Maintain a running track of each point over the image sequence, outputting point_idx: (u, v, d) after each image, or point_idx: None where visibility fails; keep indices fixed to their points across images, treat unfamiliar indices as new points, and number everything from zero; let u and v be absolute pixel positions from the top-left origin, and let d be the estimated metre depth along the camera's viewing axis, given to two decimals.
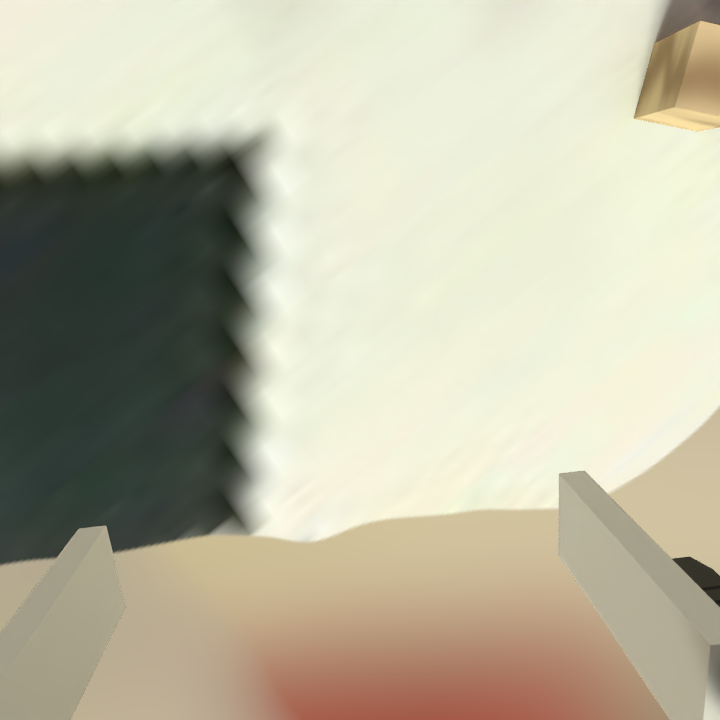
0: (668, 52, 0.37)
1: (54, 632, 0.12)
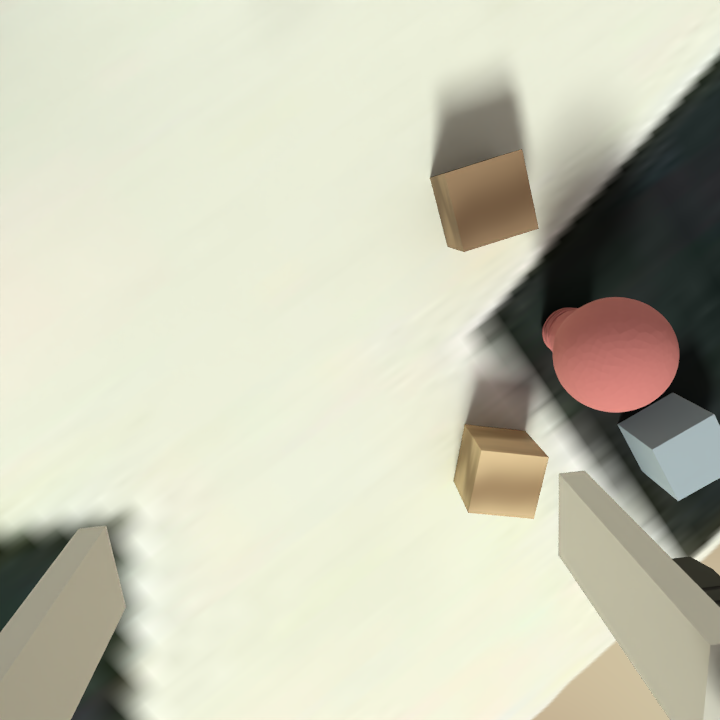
0: (469, 449, 0.43)
1: (55, 631, 0.12)
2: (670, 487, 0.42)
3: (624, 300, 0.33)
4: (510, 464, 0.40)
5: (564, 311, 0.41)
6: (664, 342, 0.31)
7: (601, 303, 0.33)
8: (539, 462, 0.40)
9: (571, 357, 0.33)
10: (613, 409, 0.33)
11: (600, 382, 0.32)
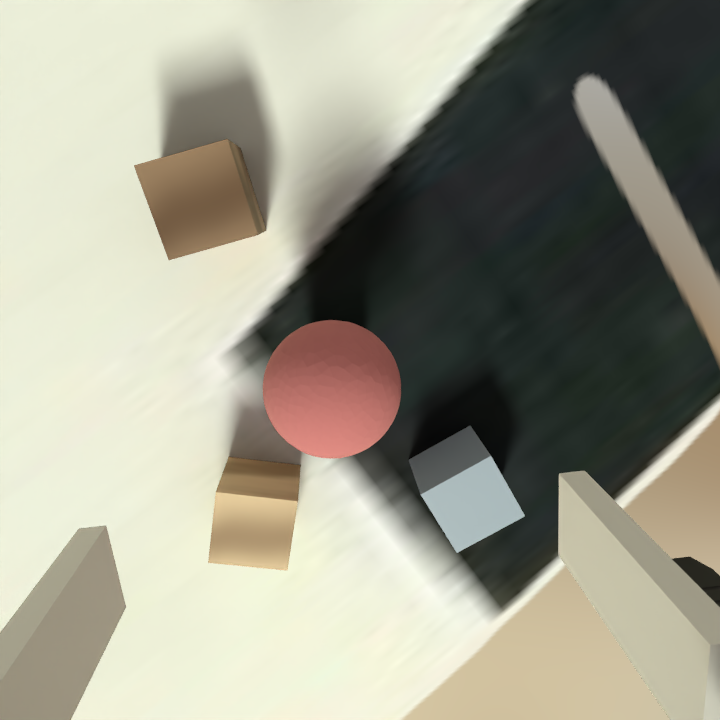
0: None
1: (55, 632, 0.12)
2: None
3: (332, 325, 0.27)
4: (253, 508, 0.34)
5: None
6: (361, 379, 0.26)
7: (307, 327, 0.28)
8: (287, 506, 0.35)
9: (266, 392, 0.27)
10: (318, 455, 0.28)
11: (289, 424, 0.26)
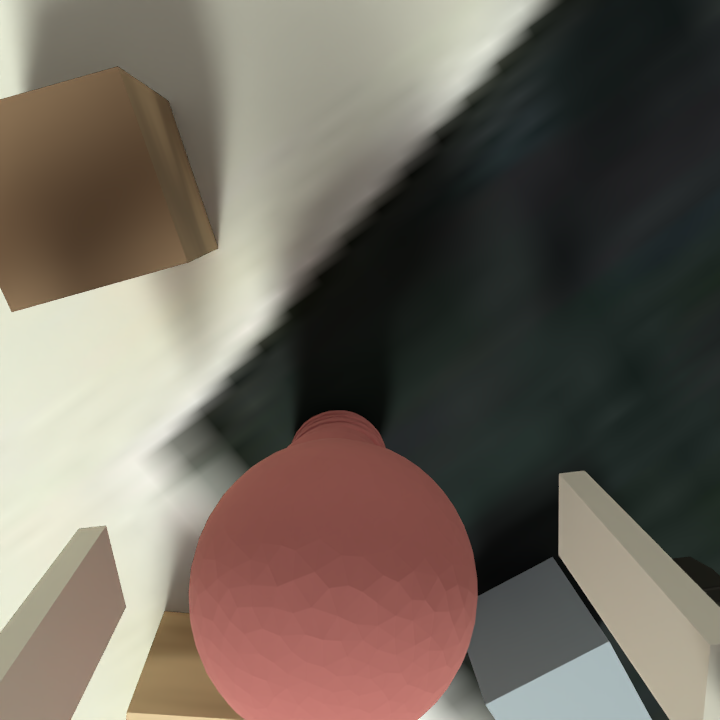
0: None
1: (55, 632, 0.12)
2: None
3: (336, 465, 0.13)
4: None
5: (317, 424, 0.20)
6: (404, 613, 0.11)
7: (282, 468, 0.13)
8: None
9: (191, 612, 0.13)
10: None
11: (238, 704, 0.12)
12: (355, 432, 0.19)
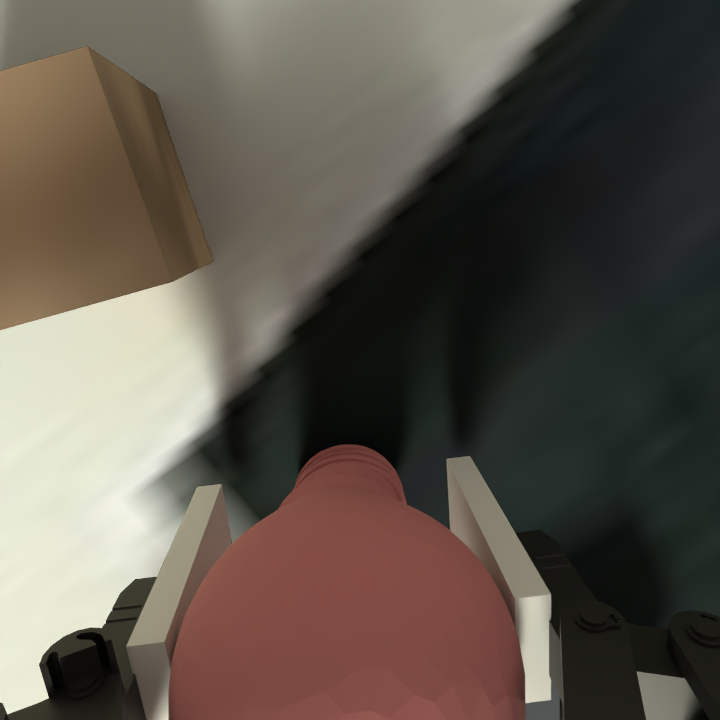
0: None
1: (202, 568, 0.14)
2: None
3: (351, 538, 0.10)
4: None
5: (325, 462, 0.18)
6: None
7: (284, 539, 0.10)
8: None
9: None
10: None
11: None
12: (369, 473, 0.17)
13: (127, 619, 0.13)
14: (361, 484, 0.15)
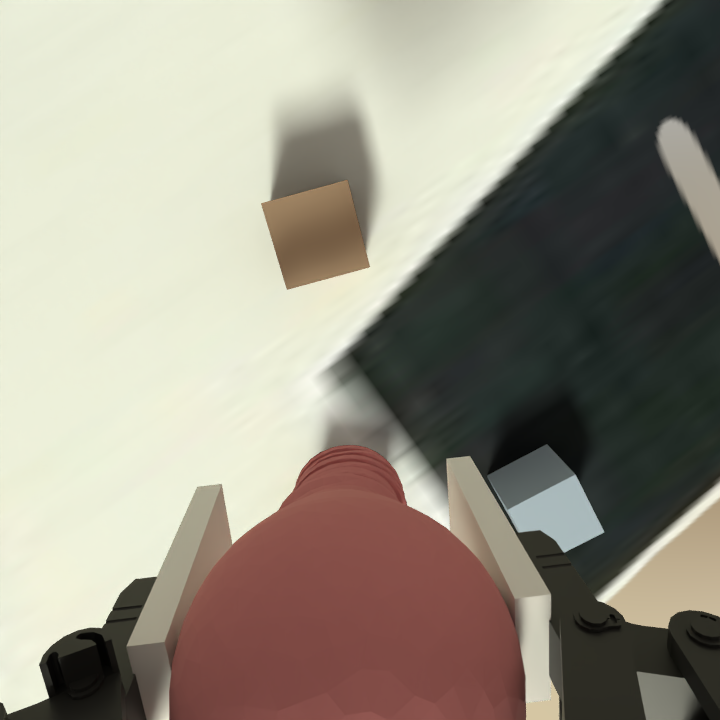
0: None
1: (202, 568, 0.14)
2: None
3: (352, 539, 0.10)
4: None
5: (325, 463, 0.18)
6: None
7: (285, 540, 0.10)
8: None
9: None
10: None
11: None
12: (369, 474, 0.17)
13: (127, 619, 0.13)
14: (361, 485, 0.15)
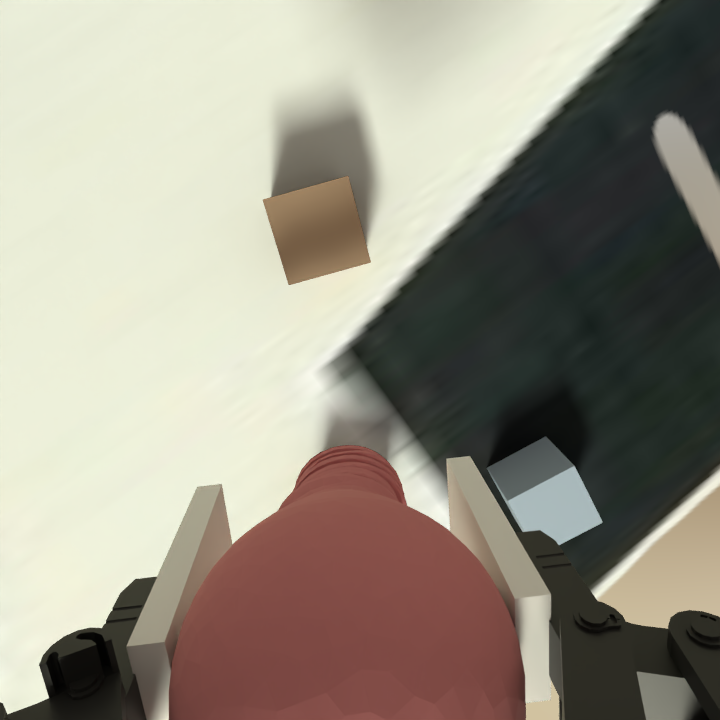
0: None
1: (202, 568, 0.14)
2: None
3: (351, 540, 0.10)
4: None
5: (325, 463, 0.18)
6: None
7: (284, 540, 0.10)
8: None
9: None
10: None
11: None
12: (369, 474, 0.17)
13: (127, 619, 0.13)
14: (361, 485, 0.15)
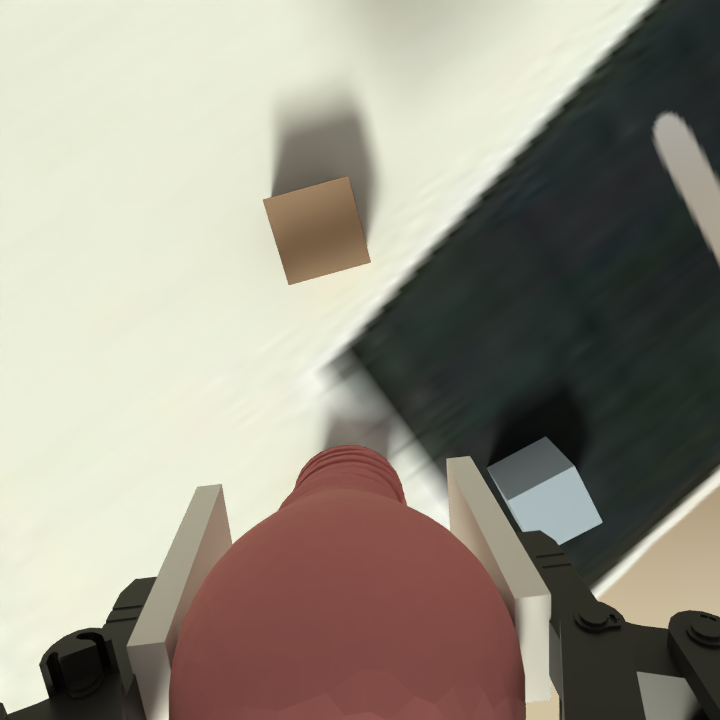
0: None
1: (202, 568, 0.14)
2: None
3: (351, 540, 0.10)
4: None
5: (325, 463, 0.18)
6: None
7: (284, 540, 0.10)
8: None
9: None
10: None
11: None
12: (369, 474, 0.17)
13: (127, 619, 0.13)
14: (361, 485, 0.15)
